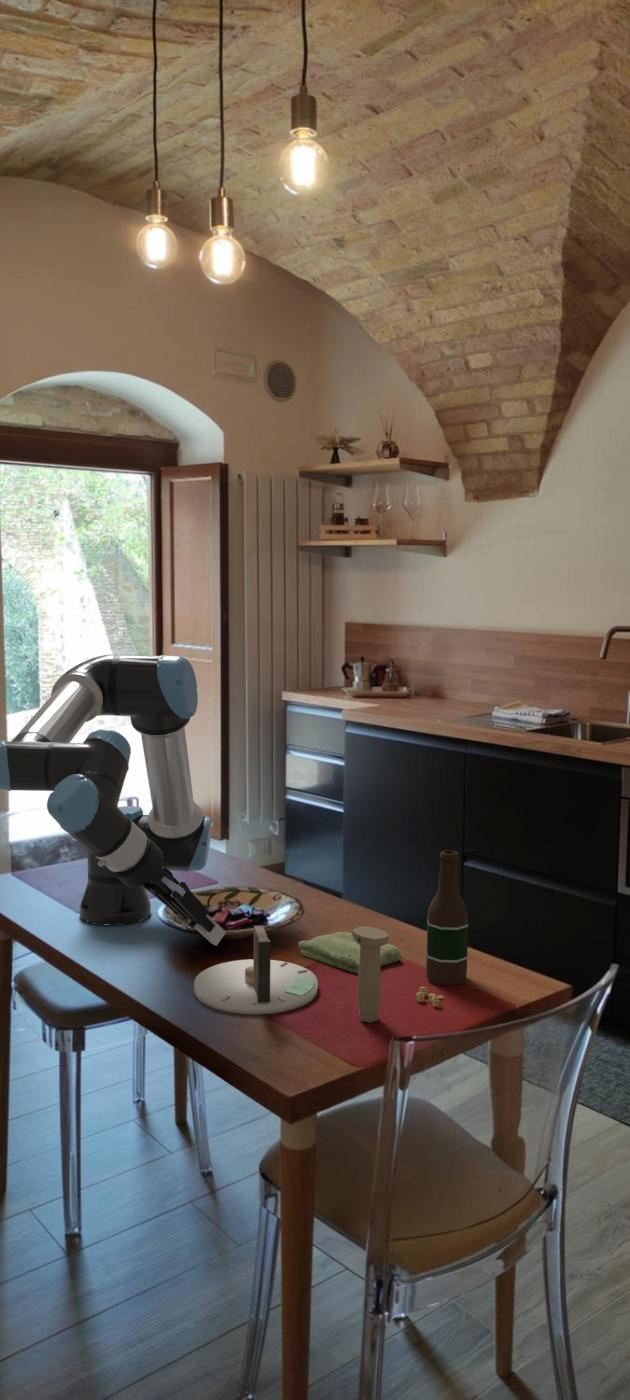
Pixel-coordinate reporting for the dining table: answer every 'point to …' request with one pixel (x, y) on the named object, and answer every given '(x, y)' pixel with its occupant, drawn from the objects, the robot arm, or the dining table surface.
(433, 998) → the dice set
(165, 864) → the robot arm
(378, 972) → the handle
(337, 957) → the washcloth
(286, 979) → the dial
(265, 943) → the wooden panel and knob
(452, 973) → the beer bottle
